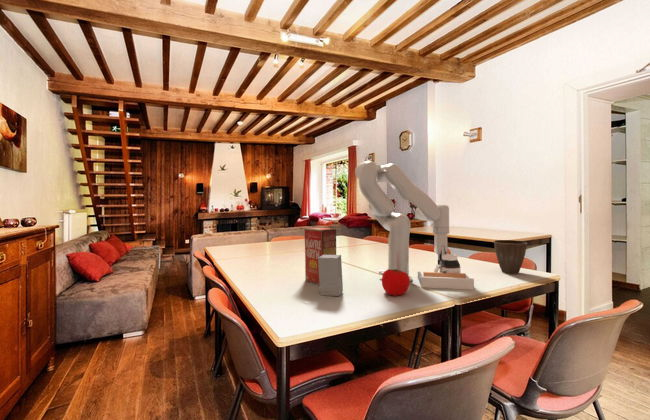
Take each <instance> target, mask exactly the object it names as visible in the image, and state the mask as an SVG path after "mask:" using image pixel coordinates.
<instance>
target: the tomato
mask: <svg viewBox="0 0 650 420" xmlns="http://www.w3.org/2000/svg"><path fill="white" fill-rule="evenodd" d="M384 271H385V272H384V273H383V275H381V276H382V277H381V286H382V289H383V290H384V291H385V293H386V294H387V295H391V296H394V297H395V296H402V295H404V294H405V293H406V292H408V289H409V287H410V283H411V281H410V278H409V276H410V275H409V276H408V275H407V273H405V272H403V271H400V270H397V269H394V270H393V269H392V270H390V269H389V270H388V269H385V270H384Z"/></svg>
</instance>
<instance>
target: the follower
mask: <svg viewBox="0 0 650 420" xmlns="http://www.w3.org/2000/svg"><path fill="white" fill-rule="evenodd" d="M466 275H467V273H466V272H465V273H464V272H462V273H446V271H442V273H440V271H438V272H434V271H423V273H422V277H449V278H466Z"/></svg>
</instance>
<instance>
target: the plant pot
mask: <svg viewBox="0 0 650 420" xmlns="http://www.w3.org/2000/svg"><path fill="white" fill-rule="evenodd" d="M493 244H494V245H493V246H494V253H495V255H496V259H497V263H498V265H499V268H500V270H501V272H502V274H503V273H505V274H510V275H518V274H519V272H520V270H521V268H522V266H523V263H524V259H525V256H526V251H527V247H528V242H527V241H524V240H523V241H522V240H513V239H512V240H511V239H499V240H498V239H496V240H493Z"/></svg>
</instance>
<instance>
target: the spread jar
mask: <svg viewBox="0 0 650 420" xmlns="http://www.w3.org/2000/svg"><path fill="white" fill-rule="evenodd" d="M442 271H446V273H461V264H460V262H459V260H458V255H457V254H453V253H447V254H445V255H442V260H441V261H440V264H439V265H438V264H435V268H434V270H433V272H439V273H442Z"/></svg>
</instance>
